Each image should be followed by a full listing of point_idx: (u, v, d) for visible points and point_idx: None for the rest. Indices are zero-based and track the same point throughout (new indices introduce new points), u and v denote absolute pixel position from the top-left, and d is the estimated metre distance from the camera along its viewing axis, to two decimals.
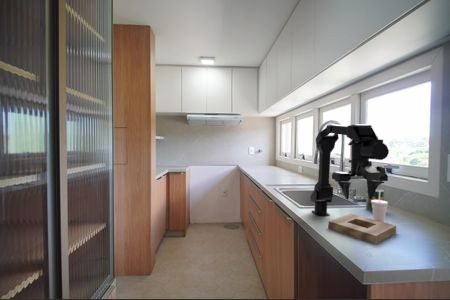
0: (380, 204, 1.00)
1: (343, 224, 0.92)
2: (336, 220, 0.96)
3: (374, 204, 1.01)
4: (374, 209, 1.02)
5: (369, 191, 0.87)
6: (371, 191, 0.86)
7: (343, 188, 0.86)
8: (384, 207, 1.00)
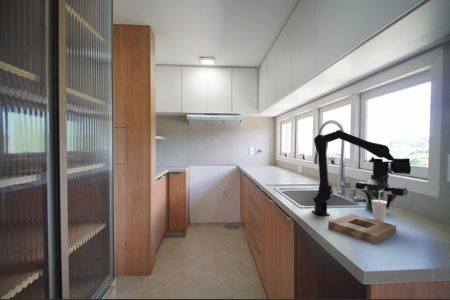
0: (380, 204, 1.00)
1: (343, 224, 0.92)
2: (336, 220, 0.96)
3: (374, 204, 1.01)
4: (374, 209, 1.02)
5: None
6: None
7: None
8: (384, 207, 1.00)
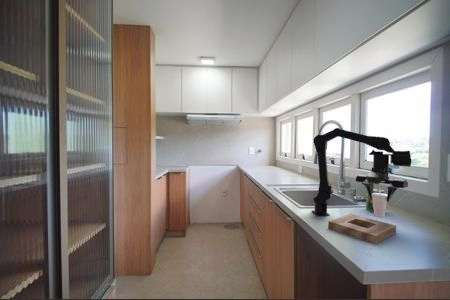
0: (380, 197, 0.99)
1: (343, 224, 0.92)
2: (336, 220, 0.96)
3: (374, 197, 1.01)
4: (374, 202, 1.02)
5: None
6: None
7: None
8: (384, 200, 0.99)
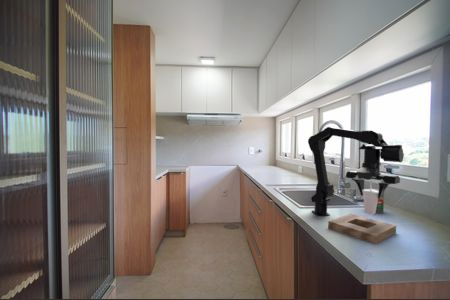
0: (371, 193, 0.94)
1: (343, 224, 0.92)
2: (336, 220, 0.96)
3: (365, 193, 0.96)
4: (365, 199, 0.97)
5: None
6: None
7: None
8: (376, 196, 0.94)
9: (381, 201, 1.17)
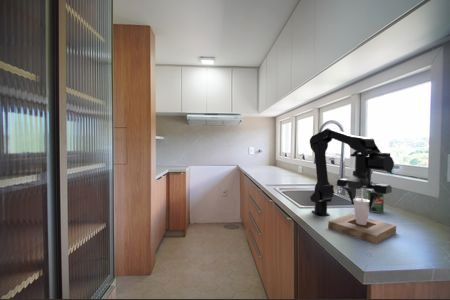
0: (362, 203, 0.90)
1: (343, 224, 0.92)
2: (336, 220, 0.96)
3: (356, 203, 0.92)
4: (356, 208, 0.93)
5: None
6: None
7: None
8: (366, 206, 0.90)
9: (381, 201, 1.17)
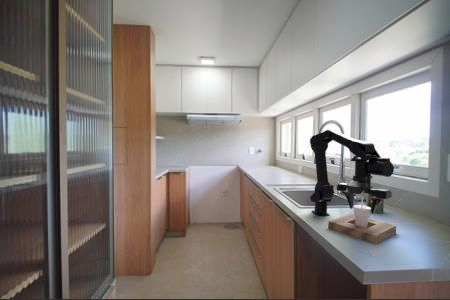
0: (362, 210, 0.90)
1: (343, 224, 0.92)
2: (336, 220, 0.96)
3: (356, 210, 0.92)
4: (356, 215, 0.93)
5: None
6: None
7: None
8: (367, 213, 0.90)
9: (381, 201, 1.17)
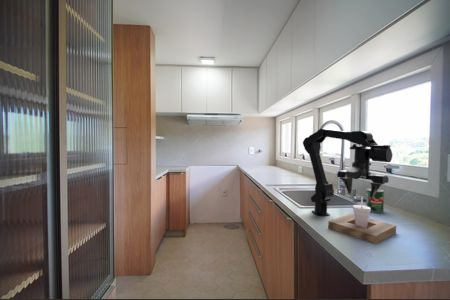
0: (362, 210, 0.91)
1: (343, 224, 0.92)
2: (336, 220, 0.96)
3: (356, 210, 0.92)
4: (356, 215, 0.93)
5: None
6: None
7: None
8: (366, 213, 0.91)
9: (381, 201, 1.17)
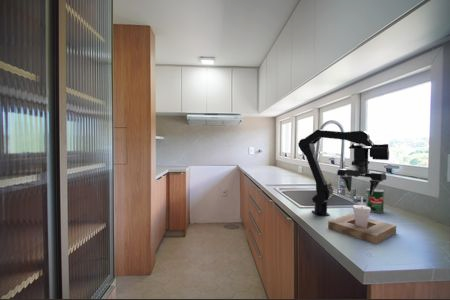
0: (362, 210, 0.91)
1: (343, 224, 0.92)
2: (336, 220, 0.96)
3: (356, 210, 0.92)
4: (356, 215, 0.93)
5: None
6: None
7: None
8: (366, 213, 0.91)
9: (381, 201, 1.17)
